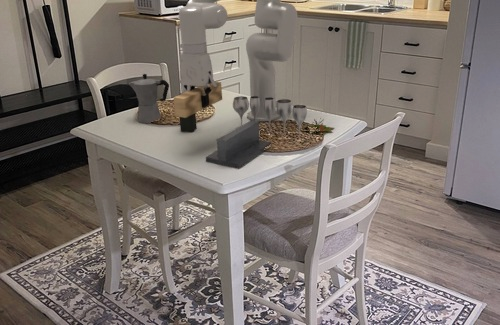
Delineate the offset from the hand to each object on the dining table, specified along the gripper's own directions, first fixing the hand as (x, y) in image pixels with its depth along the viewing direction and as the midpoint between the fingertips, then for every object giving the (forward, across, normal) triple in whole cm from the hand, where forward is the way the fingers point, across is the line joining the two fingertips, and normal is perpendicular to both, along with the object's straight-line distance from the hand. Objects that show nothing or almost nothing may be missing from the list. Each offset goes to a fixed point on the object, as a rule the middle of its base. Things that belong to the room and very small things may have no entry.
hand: (199, 104), depth 162 cm
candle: (+14, -14, +10) cm, 23 cm away
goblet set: (+15, +15, +18) cm, 28 cm away
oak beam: (+1, 0, 0) cm, 1 cm away
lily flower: (+15, +28, +30) cm, 44 cm away
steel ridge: (+14, +15, -1) cm, 21 cm away
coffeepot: (+15, -34, +13) cm, 39 cm away
